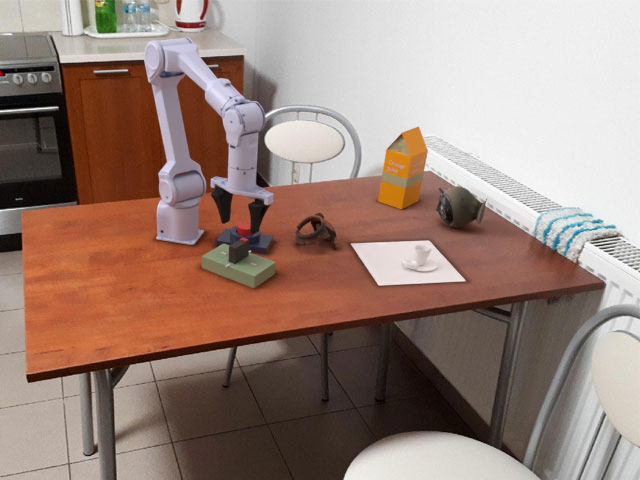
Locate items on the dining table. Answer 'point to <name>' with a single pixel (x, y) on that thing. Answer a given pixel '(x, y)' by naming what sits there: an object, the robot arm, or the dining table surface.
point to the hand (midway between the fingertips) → (240, 227)
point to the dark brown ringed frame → (316, 231)
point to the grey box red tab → (238, 250)
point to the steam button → (244, 228)
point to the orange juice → (403, 169)
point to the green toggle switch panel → (239, 266)
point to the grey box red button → (256, 241)
